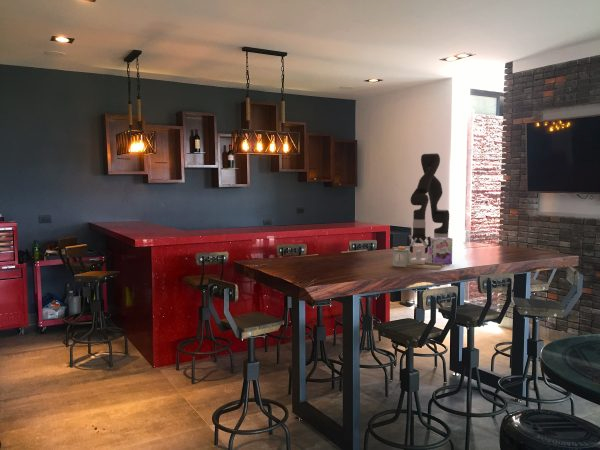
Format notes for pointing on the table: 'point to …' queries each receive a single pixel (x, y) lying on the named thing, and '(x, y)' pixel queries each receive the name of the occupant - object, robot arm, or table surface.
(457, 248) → the table surface
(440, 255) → the candy box
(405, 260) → the gauge cabinet
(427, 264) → the rail board
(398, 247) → the button
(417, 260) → the carriage
